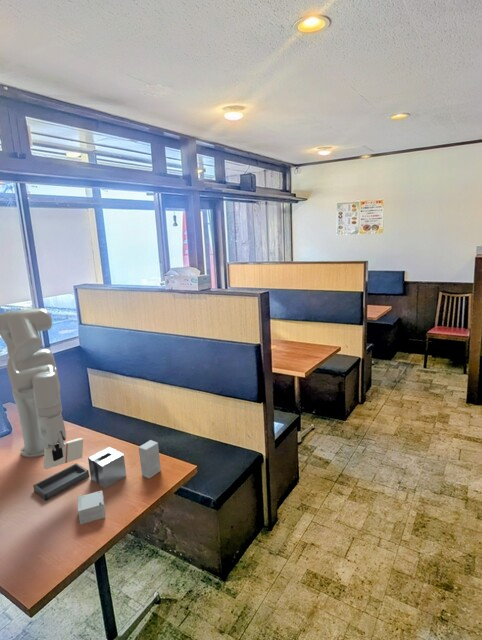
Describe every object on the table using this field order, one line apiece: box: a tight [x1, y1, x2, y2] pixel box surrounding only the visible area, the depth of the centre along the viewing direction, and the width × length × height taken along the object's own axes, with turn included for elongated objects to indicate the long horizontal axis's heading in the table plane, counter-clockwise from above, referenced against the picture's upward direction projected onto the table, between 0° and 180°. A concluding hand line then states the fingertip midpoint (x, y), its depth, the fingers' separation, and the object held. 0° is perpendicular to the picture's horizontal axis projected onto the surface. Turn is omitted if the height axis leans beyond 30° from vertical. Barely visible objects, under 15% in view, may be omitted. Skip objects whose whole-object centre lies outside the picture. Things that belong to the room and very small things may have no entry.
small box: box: [77, 490, 106, 525], centre depth 127 cm, size 8×8×5 cm
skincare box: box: [138, 439, 162, 480], centre depth 146 cm, size 6×4×12 cm
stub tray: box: [33, 463, 90, 501], centre depth 143 cm, size 8×16×2 cm, turn 142°
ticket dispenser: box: [87, 446, 127, 489], centre depth 144 cm, size 9×9×9 cm
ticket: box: [43, 437, 84, 470], centre depth 135 cm, size 2×13×7 cm, turn 142°
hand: (56, 457), depth 134 cm, fingers closed on ticket, 1 cm apart
